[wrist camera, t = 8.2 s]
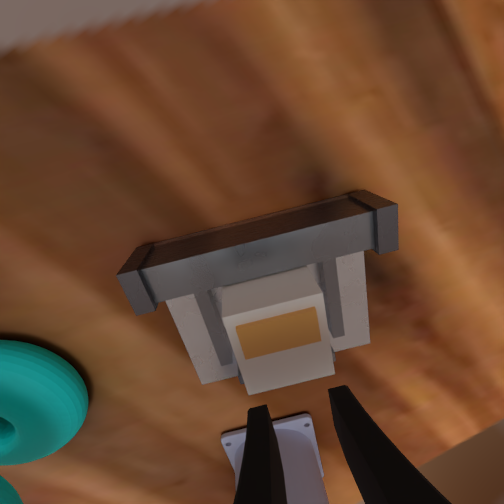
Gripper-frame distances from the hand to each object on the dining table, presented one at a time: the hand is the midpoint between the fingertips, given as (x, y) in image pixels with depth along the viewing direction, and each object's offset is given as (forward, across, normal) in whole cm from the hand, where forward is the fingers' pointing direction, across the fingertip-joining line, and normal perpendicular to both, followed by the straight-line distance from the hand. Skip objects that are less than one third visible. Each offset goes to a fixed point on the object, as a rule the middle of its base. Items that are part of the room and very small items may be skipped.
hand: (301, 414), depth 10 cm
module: (+9, 0, 0) cm, 9 cm away
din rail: (+9, 0, +1) cm, 9 cm away
